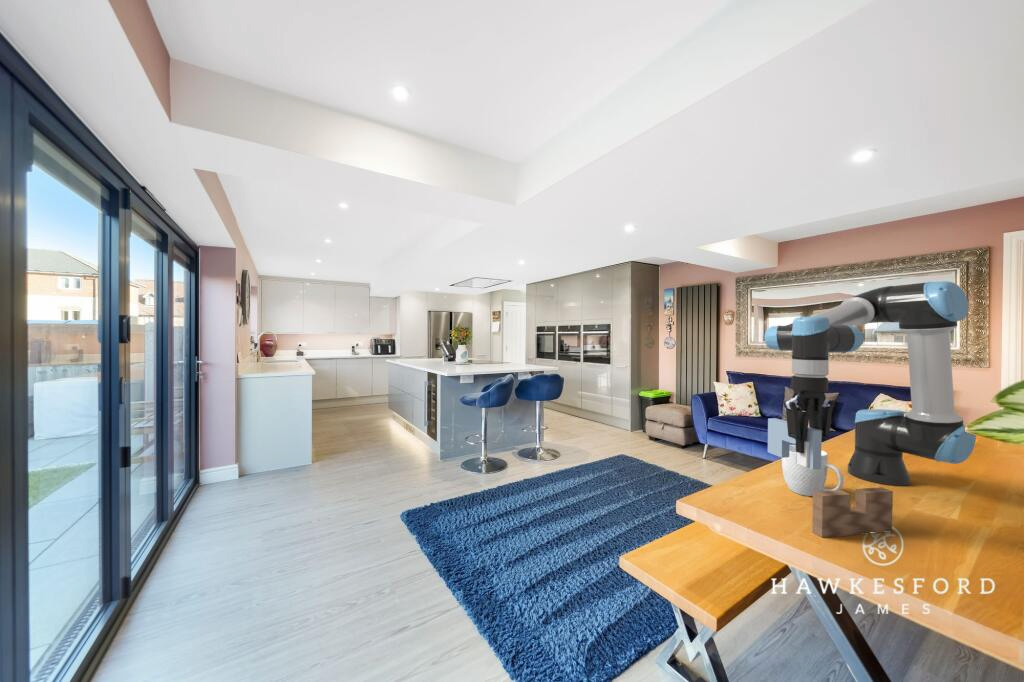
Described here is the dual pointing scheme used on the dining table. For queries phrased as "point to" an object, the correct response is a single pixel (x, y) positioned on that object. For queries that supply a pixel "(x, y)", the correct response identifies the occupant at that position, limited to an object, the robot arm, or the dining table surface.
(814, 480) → the mug
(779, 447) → the pale blue flat slat
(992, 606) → the dining table surface
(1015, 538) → the dining table surface
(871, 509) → the walnut slot plate
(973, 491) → the dining table surface
